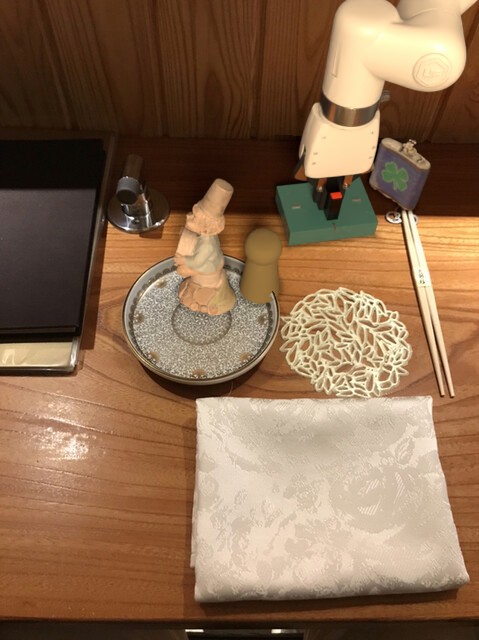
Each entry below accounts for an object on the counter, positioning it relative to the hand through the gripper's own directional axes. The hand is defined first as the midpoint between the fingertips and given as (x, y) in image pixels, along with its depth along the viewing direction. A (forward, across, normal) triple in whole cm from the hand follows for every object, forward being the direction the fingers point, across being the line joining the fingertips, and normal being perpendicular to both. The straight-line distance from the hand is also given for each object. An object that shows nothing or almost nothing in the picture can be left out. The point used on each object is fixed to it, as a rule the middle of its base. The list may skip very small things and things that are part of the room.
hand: (326, 202), depth 88 cm
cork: (+4, +13, +12) cm, 18 cm away
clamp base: (+3, 0, 0) cm, 3 cm away
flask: (+4, -13, -3) cm, 14 cm away
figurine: (+4, +21, +12) cm, 24 cm away
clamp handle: (0, 0, 0) cm, 0 cm away
